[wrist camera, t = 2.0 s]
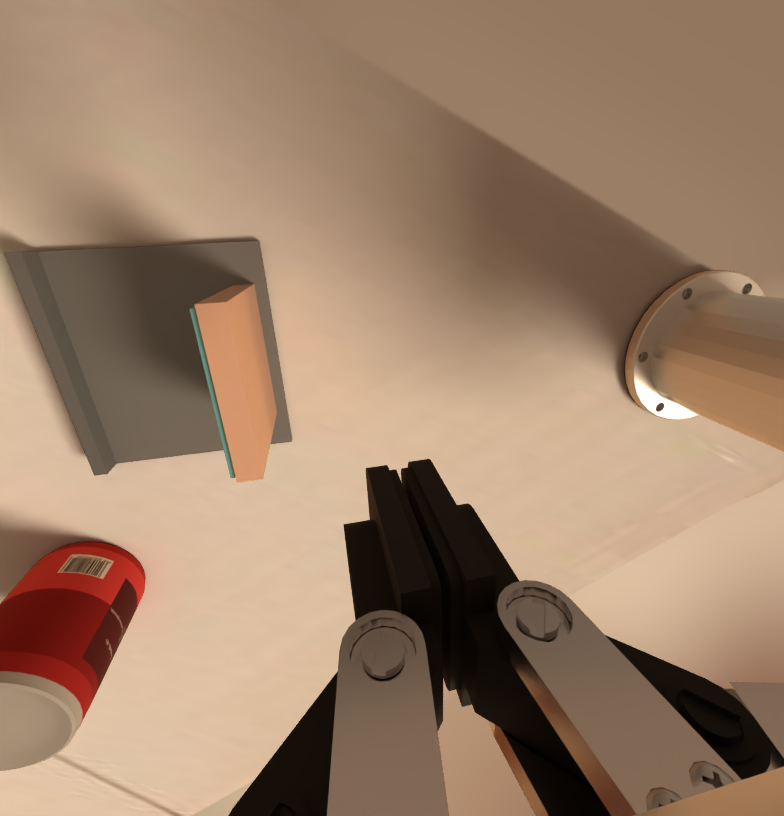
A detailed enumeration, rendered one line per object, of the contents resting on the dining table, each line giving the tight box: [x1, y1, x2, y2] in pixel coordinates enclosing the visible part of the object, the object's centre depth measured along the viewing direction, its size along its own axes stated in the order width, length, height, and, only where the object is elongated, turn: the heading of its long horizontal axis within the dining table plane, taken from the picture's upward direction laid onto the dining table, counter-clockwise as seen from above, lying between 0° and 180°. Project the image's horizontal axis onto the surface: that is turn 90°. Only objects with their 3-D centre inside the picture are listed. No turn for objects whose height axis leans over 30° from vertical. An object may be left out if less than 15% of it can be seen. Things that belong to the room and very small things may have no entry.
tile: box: [190, 284, 277, 483], centre depth 23 cm, size 2×9×9 cm, turn 3°
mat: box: [5, 241, 292, 476], centre depth 25 cm, size 13×14×2 cm
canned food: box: [0, 542, 145, 771], centre depth 26 cm, size 8×8×11 cm
